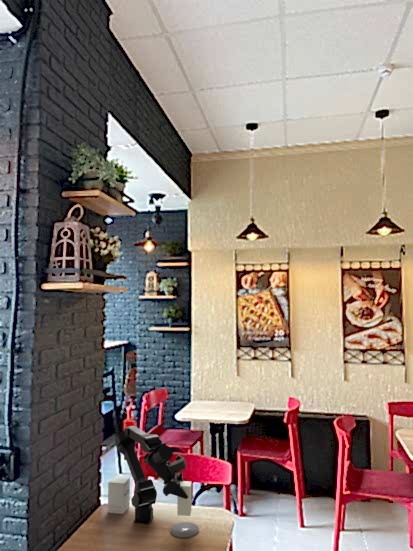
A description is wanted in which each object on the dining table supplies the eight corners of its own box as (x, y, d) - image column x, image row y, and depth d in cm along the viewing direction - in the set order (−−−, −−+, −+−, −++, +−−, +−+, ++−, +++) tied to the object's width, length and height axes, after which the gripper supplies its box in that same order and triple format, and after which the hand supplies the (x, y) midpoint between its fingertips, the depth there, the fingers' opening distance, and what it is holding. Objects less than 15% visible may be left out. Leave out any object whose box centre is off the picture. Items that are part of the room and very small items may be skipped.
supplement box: (123, 514, 189) (123, 483, 190) (107, 512, 190) (107, 482, 191) (130, 506, 196) (130, 477, 197) (114, 505, 197) (114, 475, 198)
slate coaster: (166, 535, 171) (166, 533, 171) (175, 522, 181) (175, 520, 181) (193, 539, 168) (193, 537, 168) (201, 525, 179) (201, 524, 179)
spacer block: (177, 515, 173) (177, 486, 174) (178, 509, 178) (178, 481, 179) (190, 515, 173) (190, 486, 173) (191, 509, 178) (191, 481, 178)
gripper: (171, 459, 168) (201, 490, 166) (177, 444, 186) (203, 471, 185) (150, 480, 168) (179, 511, 166) (158, 463, 186) (184, 491, 185)
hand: (188, 495), depth 176 cm, fingers closed on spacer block, 5 cm apart
